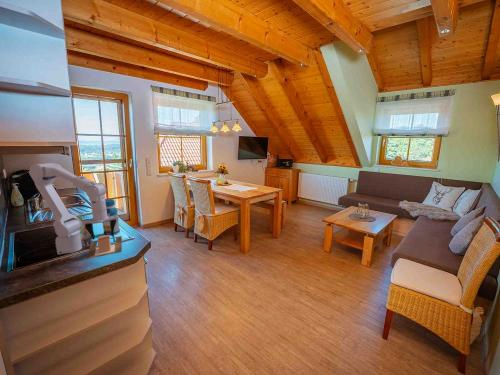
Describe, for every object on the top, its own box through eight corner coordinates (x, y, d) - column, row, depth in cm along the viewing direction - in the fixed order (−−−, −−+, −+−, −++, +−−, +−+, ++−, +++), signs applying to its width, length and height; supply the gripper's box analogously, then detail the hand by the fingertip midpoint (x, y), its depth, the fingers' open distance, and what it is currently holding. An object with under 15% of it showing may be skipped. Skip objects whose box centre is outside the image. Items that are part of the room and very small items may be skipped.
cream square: (94, 256, 109) (94, 255, 109) (96, 248, 117) (96, 247, 117) (114, 252, 113) (114, 251, 113) (114, 244, 121) (114, 244, 121)
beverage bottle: (121, 234, 138) (117, 200, 134) (104, 237, 133) (99, 203, 129) (119, 229, 145) (114, 197, 141) (102, 233, 140) (98, 200, 136)
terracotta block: (99, 252, 112) (97, 240, 111) (100, 247, 117) (98, 236, 116) (110, 250, 114) (108, 238, 113) (110, 245, 119) (109, 234, 118)
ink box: (79, 243, 126) (75, 219, 124) (73, 243, 127) (69, 219, 124) (91, 238, 133) (87, 215, 130) (85, 237, 134) (81, 214, 131)
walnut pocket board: (86, 261, 107) (86, 259, 107) (92, 243, 126) (91, 241, 126) (121, 254, 113) (121, 251, 113) (121, 238, 132) (121, 235, 132)
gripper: (79, 214, 104) (83, 243, 107) (116, 209, 111) (120, 237, 114) (81, 210, 110) (85, 237, 113) (117, 205, 117) (120, 232, 120)
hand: (103, 237), depth 114 cm, fingers open, 7 cm apart
